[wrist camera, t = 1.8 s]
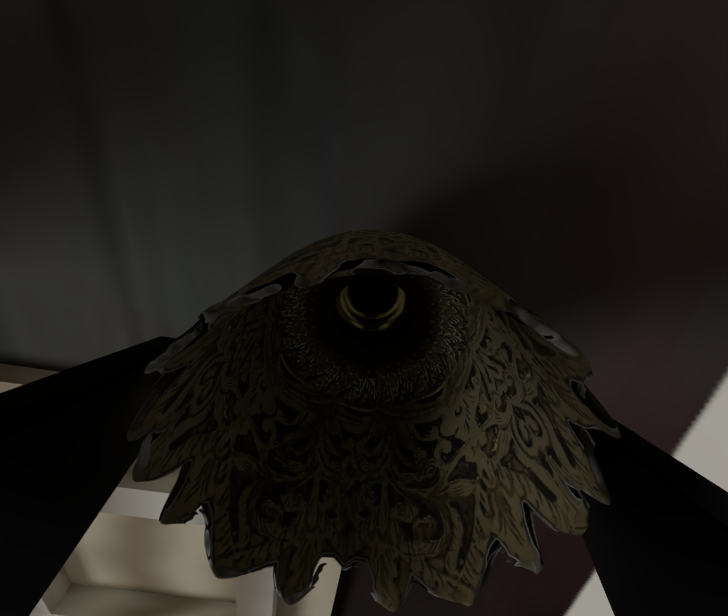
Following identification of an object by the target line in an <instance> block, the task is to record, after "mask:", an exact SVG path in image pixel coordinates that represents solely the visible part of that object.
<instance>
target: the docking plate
mask: <svg viewBox="0 0 728 616" xmlns="http://www.w3.org/2000/svg"><path fill="white" fill-rule="evenodd" d="M55 373H58V371H51V370H44V369H36V368H29V367H22V366H15V365H8V364H1V363H0V393H2V392H4V391H7V390H10V389H13V388H16V387H19V386H21V385H24V384H27V383H30V382H33V381H36V380H38V379H41V378H44V377H47V376H50V375H53V374H55ZM137 458H138V457H137ZM137 458H136V460H135V461H134V463H133V464H132V466H131V467H130V468H129V470H128V471H127V473H126V474H125V476H124V477H123V479H122V480H121V482H120V483H119V485H118V486H117V488H116V489H115V491H114V492H113V493H112V495H111V496H110V498H109V499H108V501H107V502H106V504H105V505H104V507H103V508H102V510H101V511H100V513H99V514H98V515H97V517H96V518H95V520H94V521H93V523H92V524H91V526H90V527H89V529H88V530H87V532H86V533H85V535H84V536H83V538H82V539H81V540H80V542H79V543H78V545H77V546H76V548H75V549H74V551H73V552H72V554H71V555H70V557H69V558H68V560H67V561H66V563H65V564H64V565H63V567H62V568H61V570H60V571H59V573H58V574H57V576H56V577H55V579H54V580H53V582H52V583H51V585H50V586H49V588H48V589H47V590H46V592H45V593H44V595H43V596H42V598H41V599H40V601H39V602H38V604H37V605H36V607H35V608H34V610H33V611H32V613H31V614H30V615H29V616H331V611H332V607H333V603H334V598H335V594H336V590H337V586H338V581H339V577H340V573H341V568H342V567H341V566H340V565H339V563H338V562H337V561H336V560H335V559H334V558H328V557H326V558H325V557H323V558H321V559H320V561H319V563H318V564H317V566H316V568H315V571H314V574H315V572H316V570H317V568H318V566H319V565H320V564H322V563H327V564H326V565H325V566H323V571H322V572H321V573H320V574H319V580H318V581H317V583H316V584H315V585H314V586H315V588H314V589H312V590H311V591H310V592H309V593H308V594H307V595H306V596H305V597H304V598H303V599H301V600H300V601H299V602H297V603H295V604H293V605H288V604H286V603H285V602H284V601H283V600H282V599H281V598H280V596H279V595H278V593H277V591H276V590H275V587H274V580H273V567H269V568H264V569H262V570H260V571H256V572H253V573H249V574H246V575H243V576H239V577H235V578H230V579H218V578H216V577H215V576H214V574H213V572H212V570H211V567H210V565H209V562H208V559H207V554H206V550H205V546H204V532H205V519H204V517H203V515H202V513H200V512H199V509H200V508H201V509H202V506H200V507H199V508H198V509H197V510H196V512H197V513H198V515H195V516H194V518H193V519H192V520H190V521H188V522H186V524H170V525H163V524H161V523H160V522H159V517H160V513H161V511H162V509H163V506H164V504H165V502H166V500H167V498H168V496H169V494H170V492H171V490H172V489H173V486H174V484H175V483H176V480H177V478H178V475H179V472H180V469H181V467H182V466H181V467H180V468H179V469H177V470H176V471H175V472H173V473H172V474H169V475H167V476H165V477H162V478H160V479H157V480H154V481H146V482H135V481H133V480H132V471H133V469H134V466H135V464H136V461H137ZM314 574H313V576H314ZM311 584H312V583H311ZM310 586H311V585H310ZM310 586H309V587H310ZM314 586H313V587H314Z"/></svg>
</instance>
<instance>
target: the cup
mask: <svg viewBox="0 0 728 616" xmlns="http://www.w3.org/2000/svg"><path fill="white" fill-rule="evenodd" d="M365 278H379V279H384V280H387V281H390V282H391V283H392V285H393V287H394V290H395V297H394V301H393V303H392V304H391V306H390V307H389V308H388V309H387V310H385V311H383V312H381V313H377V314H369V313H365V312H363V311H361V310H359V309H358V308H357V307H356V306H355V305H354V303H353V302H352V299H351V288H352V286H353V284H354V282H355V281H357V280H360V279H365ZM198 319H200V320H199V321H198V322H197V323H196V324H195V325H194V326H193V327H192V328H190V329H189V330H188V331H186V332H185V333H184V334H182V335H181V336H179V337H178V338H177V339H175V340H174V341H172V342H171V343H170V344H169V345H168V346H167V347H166V348H165V349H163V350H162V351H161V352H160V353H159V354H158V355H157V356H156V357H155V358H154V359H153V360H152V361H151V362H150V363H149V364H148V365H147V367H146V369H145V371H144V373H145V374H150V373H152V372H154V371H159V373H160V374H163V372H165V373H164V374H163V375H162V376H161V377H160V378H159V379H158V380H157V381H156V383H155V384H154V385H153V387H152V391H151V395H150V397H149V398H148V399H147V401H146V402H145V404H144V405H143V406H142V408H141V409H140V411H139V412H138V414H137V415H136V417H135V418H134V420H133V422H132V424H131V426H130V428H129V430H128V432H127V439H128V441H135V440H137V439H139V438H140V437H141V436H143V435H144V434H146V433H148V432H149V431H150V430H151V432H150V433H149V434H148V435H147V436H146V438H145V439H144V440H143V441H142V444H141V447H140V451H139V454H138V458H137V461H136V464H135V466H134V469H133V471H132V480H133V481H135V482H146V481H154V480H157V479H160V478H162V477H165V476H167V475H169V474H172V473H173V472H175V471H176V470H177V469H179V468H180V467H181V466H182V467H181V469H180V472H179V475H178V478H177V480H176V483H175V484H174V486H173V489H172V490H171V492H170V494H169V496H168V498H167V500H166V502H165V504H164V506H163V509H162V511H161V513H160V517H159V522H160V523H161V524H163V525H170V524H186V522H188V521H190V520H192V519H193V518H194V516H195V515H198V513H197V512H196V510H197V509H198V508H199V507H200V506H202V509H201V508H200V509H199V512H200V513H202V515H203V517H204V519H205V532H204V546H205V550H206V554H207V559H208V562H209V565H210V567H211V570H212V572H213V574H214V576H215V577H216V578H218V579H230V578H235V577H239V576H243V575H246V574H249V573H253V572H256V571H260V570H262V569H264V568H269V567H273V580H274V587H275V590H276V591H277V593H278V595H279V596H280V598H281V599H282V600H283V601H284V602H285V603H286V604H288V605H293V604H295V603H297V602H299V601H300V600H301V599H303V598H304V597H305V596H306V595H307V594H308V593H309V592H310V591H311V590H312V589H314V588H315V586H314V585H315V584H316V583H317V581H318V580H319V574H320V573H321V572H322V571H323V566H325V565H326V564H327V563H322V564H320V565H319V566H318V568H317V570H316V572H315V574H314V571H315V568H316V566H317V564H318V563H319V561H320V559H321V558H323V557H325V558H326V557H328V558H334V559H335V560H336V561H337V562H338V563H339V565H340V566H341V567H342V568H345V569H343V570H344V571H345V570H347V569H349V568H351V567H353V566H350V567H347V566H349V565H350V564H351V563H353V562H355V561H357V562H361V563H366V564H367V565H368V568H369V570H370V573H371V576H372V579H373V588H374V593H371V592H370V593H371V594H372V596H373V598H374V599H375V601H377V602H378V603H379V604H381V605H382V606H384V607H385V608H387V609H388V610H389V611H392V612H396V611H398V610H399V608H400V607H401V606H402V605H403V603H404V602H405V600H406V598H407V595H408V593H409V591H410V589H411V586H412V582H414V583H416V584H419V585H420V586H421V587H422V588H423V589H425V590H426V591H428V592H429V593H431V594H432V595H434V596H437V597H440V598H443V599H446V600H449V601H453V602H458V603H462V604H464V605H466V606H470V605H473V604H474V603H475V602H476V601H477V599H478V598H479V596H480V594H481V592H482V590H483V588H484V586H485V583H486V581H487V579H488V576H489V574H490V572H491V570H492V563H493V560H494V558H495V556H496V554H497V553H498V552H499V550H500V549H501V546H499V545H500V544H502V545H503V546H504V548H505V549H502V550H500V551H501V552H502V554H503V553H504V552H505V550H506V551H507V553H508V555H509V556H510V557H512V558H515V559H516V560H517V561H518V562H517V563H516V562H515V561H513V560H512V559H509V560H506V561H507V562H509V563H516V565H514V566H521V567H524V568H526V569H529V570H531V571H533V572H534V573H535V574H538V573H539V572H540V571H541V570H542V568H543V558H542V553H541V550H540V546H539V541H538V538H537V535H536V532H535V529H534V525H533V516H532V515H533V513H534V514H536V515H537V516H538V517H539V518H540V519H541V520H542V521H543V522H545V523H546V524H547V525H549V526H550V527H551V528H552V529H554V530H555V531H559V532H564V533H569V534H573V535H582V534H584V533H585V531H586V529H587V527H588V514H589V504H588V502H587V501H586V499H585V497H584V495H583V493H582V491H581V490H583V491H584V492H585V493H587V494H588V495H590V496H592V497H593V498H595V499H596V500H598V501H599V502H601V503H603V504H606V505H610V497H609V493H608V490H607V487H606V484H605V481H604V478H603V475H602V472H601V470H600V467H599V465H598V462H597V460H596V458H595V456H594V448H595V443H594V441H593V439H592V437H591V436H590V434H589V433H588V432H587V430H586V429H591V428H594V429H597V430H601V431H604V432H605V433H607V434H609V435H610V436H612V437H615V438H619V439H620V437H621V435H620V432H619V429H618V427H617V426H616V424H615V422H614V421H613V419H612V418H611V416H610V415H609V414H608V412H607V411H606V410H605V408H604V407H603V406H602V404H601V403H600V402H599V401H598V399H597V398H596V397H595V396H594V395H593V394H592V393H591V392H590V391H589V389H588V388H587V386H586V385H585V384H584V380H585V378H586V377H592V376H593V374H592V370H591V365H590V362H589V360H588V359H587V357H586V356H585V355H584V354H583V353H582V352H581V351H580V350H579V349H578V348H577V347H576V346H575V345H574V344H573V343H571V342H570V341H569V340H568V339H566V338H565V337H564V336H563V335H562V334H560V333H559V332H558V331H557V330H555V329H554V328H553V327H551V326H550V325H549V324H548V323H546V322H545V321H544V320H543V319H541V318H540V317H538V316H537V315H535V314H534V313H532V312H531V311H529V310H528V309H526V308H525V307H523V306H522V305H521V304H519V303H518V302H517V301H516V300H514V299H513V298H512V297H510V296H509V295H508V294H506V293H505V292H504V291H502V290H501V289H500V288H498V287H497V286H496V285H494V284H493V283H492V282H490V281H489V280H488V279H486V278H485V277H484V276H482V275H481V274H480V273H478V272H477V271H475V270H474V269H473V268H471V267H470V266H468V265H467V264H466V263H464V262H463V261H461V260H459V259H458V258H456V257H455V256H453V255H452V254H450V253H449V252H447V251H445V250H444V249H442V248H440V247H438V246H436V245H434V244H432V243H430V242H427V241H425V240H422V239H419V238H416V237H413V236H411V235H407V234H402V233H398V232H392V231H383V230H360V231H351V232H346V233H341V234H337V235H333V236H330V237H328V238H325V239H322V240H319V241H316V242H314V243H312V244H310V245H308V246H306V247H304V248H302V249H300V250H298V251H296V252H294V253H293V254H291V255H290V256H288V257H286V258H285V259H283V260H282V261H280V262H279V263H277V264H276V265H274V266H273V267H271V268H270V269H268V270H267V271H265V272H264V273H262V274H261V275H259V276H258V277H256V278H255V279H254V280H252V281H251V282H249V283H248V284H246V285H245V286H244V287H242V288H241V289H239V290H238V291H237V292H235V293H234V294H233V295H231V296H230V297H228V298H227V299H226V300H224V301H221V302H219V303H217V304H215V305H213V306H211V307H210V308H208V309H207V310H205V311H204V312H202V313H201V314H200V315H199V317H198ZM166 362H167V363H166ZM585 428H586V429H585ZM530 507H531V510H530ZM346 567H347V568H346ZM354 567H356V568H358V566H354ZM313 574H314V576H313ZM413 578H414V579H415V580H417V581H418V582H417V581H412V580H413ZM419 582H420V583H421V584H420V583H419ZM311 583H312V584H311ZM310 585H311V586H310ZM309 586H310V587H309ZM313 586H314V587H313Z"/></svg>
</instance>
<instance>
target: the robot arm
mask: <svg viewBox="0 0 728 616" xmlns="http://www.w3.org/2000/svg"><path fill="white" fill-rule="evenodd" d="M175 339H177V338H171V337H164V336H162V337H157V338H155V339H152V340H149V341H146V342H143V343H140V344H138V345H135V346H132V347H129V348H126V349H123V350H121V351H118V352H115V353H112V354H109V355H106V356H104V357H101V358H98V359H95V360H92V361H89V362H87V363H84V364H81V365H78V366H75V367H72V368H70V369H67V370H64V371H61V372H58V373H55V374H53V375H50V376H47V377H44V378H41V379H38V380H36V381H33V382H30V383H27V384H24V385H21V386H19V387H16V388H13V389H10V390H7V391H4V392H2V393H0V616H29V615H30V614H31V613H32V611H33V610H34V608H35V607H36V605H37V604H38V602H39V601H40V599H41V598H42V596H43V595H44V593H45V592H46V590H47V589H48V588H49V586H50V585H51V583H52V582H53V580H54V579H55V577H56V576H57V574H58V573H59V571H60V570H61V568H62V567H63V565H64V564H65V563H66V561H67V560H68V558H69V557H70V555H71V554H72V552H73V551H74V549H75V548H76V546H77V545H78V543H79V542H80V540H81V539H82V538H83V536H84V535H85V533H86V532H87V530H88V529H89V527H90V526H91V524H92V523H93V521H94V520H95V518H96V517H97V515H98V514H99V513H100V511H101V510H102V508H103V507H104V505H105V504H106V502H107V501H108V499H109V498H110V496H111V495H112V493H113V492H114V491H115V489H116V488H117V486H118V485H119V483H120V482H121V480H122V479H123V477H124V476H125V474H126V473H127V471H128V470H129V468H130V467H131V466H132V464H133V463H134V461H135V460H136V458H137V457H138V454H139V451H140V447H141V444H142V441H143V440H144V439H145V438H146V436H147V435H148V434H149V433H150V432H151V430H150V431H149V432H148V433H146V434H144V435H143V436H141V437H140V438H139V439H137V440H135V441H128V439H127V432H128V430H129V428H130V426H131V424H132V422H133V420H134V418H135V417H136V415H137V414H138V412H139V411H140V409H141V408H142V406H143V405H144V404H145V402H146V401H147V399H148V398H149V397H150V395H151V391H152V387H153V385H154V384H155V383H156V381H157V380H158V379H159V378H160V377H161V376H162V375H163V374H164V373H165V372H163V374H160V373H159V371H154V372H152V373H150V374H145V373H144V371H145V369H146V367H147V365H148V364H149V363H150V362H151V361H152V360H153V359H154V358H155V357H156V356H157V355H158V354H159V353H160V352H161V351H162V350H163V349H165V348H166V347H167V346H168V345H169V344H170V343H171V342H172V341H174V340H175ZM166 363H167V362H166ZM613 421H614V422H615V424H616V426H617V427H618V429H619V432H620V435H621V437H620V439H619V438H615V437H612V436H610V435H609V434H607V433H605V432H604V431H601V430H597V429H594V428H591V429H586V428H585V429H586V430H587V432H588V433H589V434H590V436H591V437H592V439H593V441H594V443H595V448H594V456H595V458H596V460H597V462H598V465H599V467H600V470H601V472H602V475H603V478H604V481H605V484H606V487H607V490H608V493H609V497H610V505H606V504H603V503H601V502H599V501H598V500H596V499H595V498H593V497H592V496H590V495H588V494H587V493H585V492H584V491H583V490H581V491H582V493H583V495H584V497H585V499H586V501H587V502H588V504H589V514H588V527H587V529H586V531H585V533H584V534H582V537H583V540H584V542H585V544H586V547H587V549H588V552H589V554H590V557H591V559H592V562H593V564H594V566H595V569H596V571H597V574H598V576H599V579H600V581H601V583H602V586H603V588H604V591H605V593H606V596H607V598H608V600H609V603H610V605H611V608H612V610H613V613H614V615H615V616H728V492H727V491H725V490H723V489H722V488H720V487H719V486H717V485H716V484H714V483H712V482H711V481H709V480H707V479H706V478H705V477H703V476H701V475H700V474H698V473H697V472H695V471H694V470H692V469H691V468H689V467H687V466H686V465H684V464H683V463H681V462H680V461H678V460H677V459H675V458H673V457H672V456H670V455H669V454H667V453H666V452H664V451H662V450H661V449H659V448H658V447H656V446H655V445H653V444H651V443H650V442H648V441H647V440H645V439H644V438H642V437H641V436H639V435H637V434H636V433H634V432H633V431H631V430H630V429H628V428H626V427H625V426H623V425H622V424H620V423H619V422H617V421H616V420H614V419H613Z"/></svg>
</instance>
